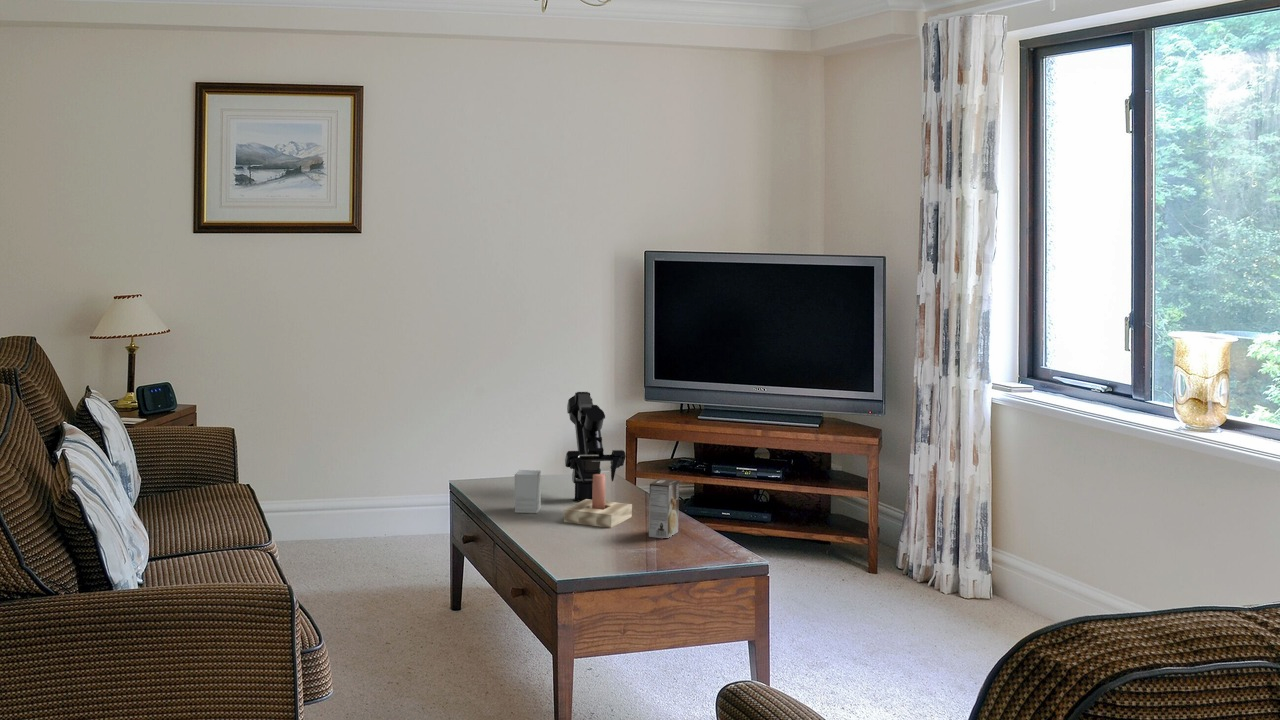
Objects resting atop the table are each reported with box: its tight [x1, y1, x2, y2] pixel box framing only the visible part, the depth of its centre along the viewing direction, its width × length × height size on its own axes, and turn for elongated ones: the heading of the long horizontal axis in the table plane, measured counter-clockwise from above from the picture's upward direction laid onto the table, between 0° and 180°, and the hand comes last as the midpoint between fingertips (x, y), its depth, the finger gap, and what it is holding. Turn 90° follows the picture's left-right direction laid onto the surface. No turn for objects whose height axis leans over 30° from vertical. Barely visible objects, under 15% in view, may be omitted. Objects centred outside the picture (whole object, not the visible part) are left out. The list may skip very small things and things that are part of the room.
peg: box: [592, 473, 607, 510], centre depth 341 cm, size 4×4×14 cm
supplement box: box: [514, 469, 542, 514], centre depth 350 cm, size 7×7×13 cm
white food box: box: [648, 478, 680, 539], centre depth 324 cm, size 9×6×16 cm
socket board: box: [563, 499, 633, 529], centre depth 341 cm, size 16×16×4 cm
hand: (598, 481), depth 341 cm, fingers open, 9 cm apart
